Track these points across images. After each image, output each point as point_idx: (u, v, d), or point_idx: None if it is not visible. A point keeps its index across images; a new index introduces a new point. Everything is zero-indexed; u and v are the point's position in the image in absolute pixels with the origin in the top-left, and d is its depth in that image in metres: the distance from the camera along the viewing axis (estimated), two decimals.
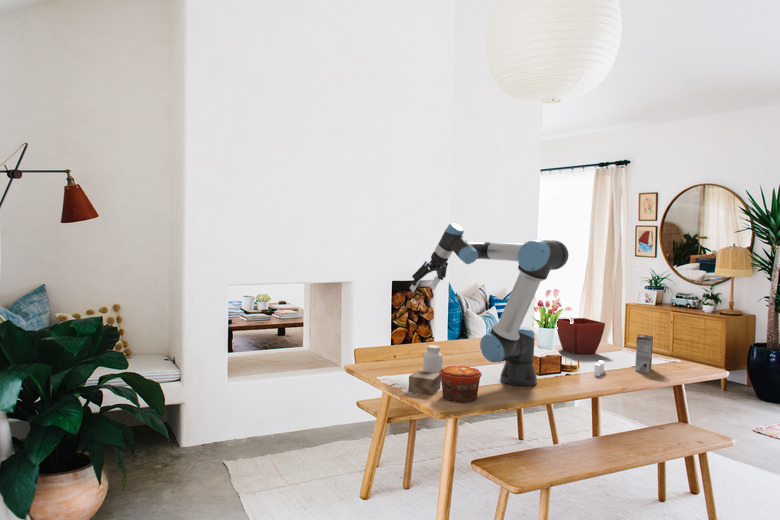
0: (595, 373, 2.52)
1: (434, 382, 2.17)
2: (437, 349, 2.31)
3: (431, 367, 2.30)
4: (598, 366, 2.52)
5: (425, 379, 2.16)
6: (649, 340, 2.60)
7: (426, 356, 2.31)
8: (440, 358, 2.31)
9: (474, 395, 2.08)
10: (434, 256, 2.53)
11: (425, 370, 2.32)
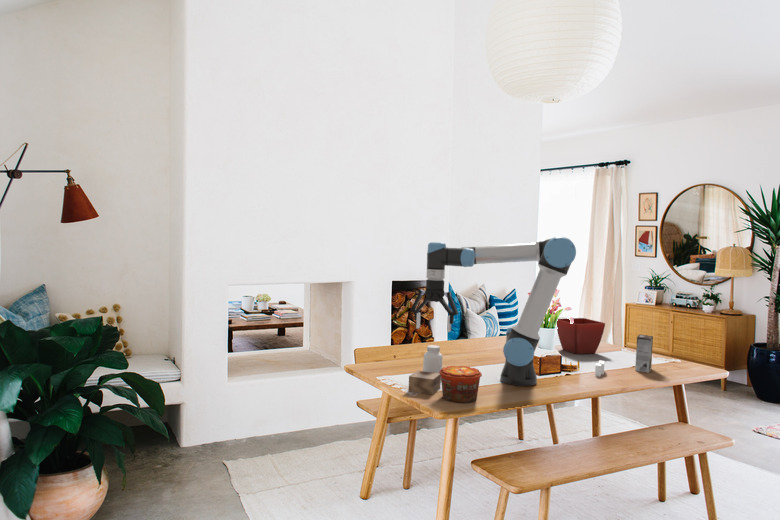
0: (596, 373, 2.52)
1: (434, 382, 2.17)
2: (437, 349, 2.31)
3: (431, 367, 2.30)
4: (599, 366, 2.51)
5: (425, 379, 2.16)
6: (649, 340, 2.60)
7: (426, 356, 2.31)
8: (440, 358, 2.31)
9: (474, 395, 2.08)
10: (443, 283, 2.31)
11: (425, 370, 2.32)
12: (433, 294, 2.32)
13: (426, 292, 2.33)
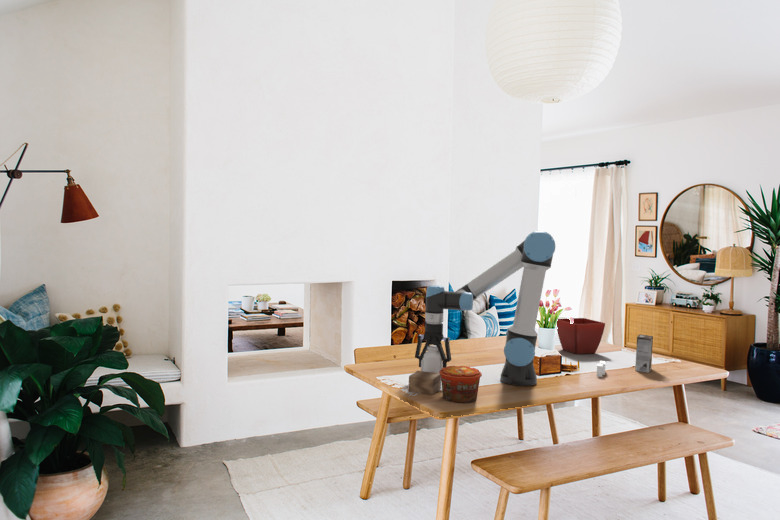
0: (597, 374, 2.51)
1: (434, 382, 2.17)
2: (437, 349, 2.31)
3: (431, 367, 2.30)
4: (600, 367, 2.51)
5: (425, 379, 2.16)
6: (649, 340, 2.60)
7: (426, 356, 2.31)
8: (440, 358, 2.31)
9: (474, 395, 2.08)
10: (442, 327, 2.31)
11: (425, 370, 2.32)
12: (432, 337, 2.32)
13: (425, 335, 2.33)
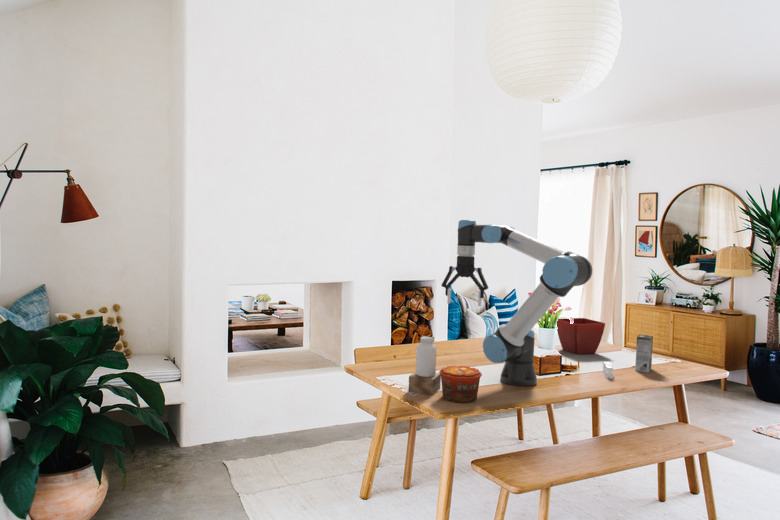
0: (608, 376, 2.48)
1: (434, 382, 2.17)
2: (431, 340, 2.19)
3: (424, 360, 2.17)
4: (611, 368, 2.48)
5: (425, 379, 2.16)
6: (649, 340, 2.60)
7: (419, 348, 2.18)
8: (434, 350, 2.18)
9: (474, 395, 2.08)
10: None
11: (418, 363, 2.19)
12: (464, 270, 2.40)
13: (457, 268, 2.42)
